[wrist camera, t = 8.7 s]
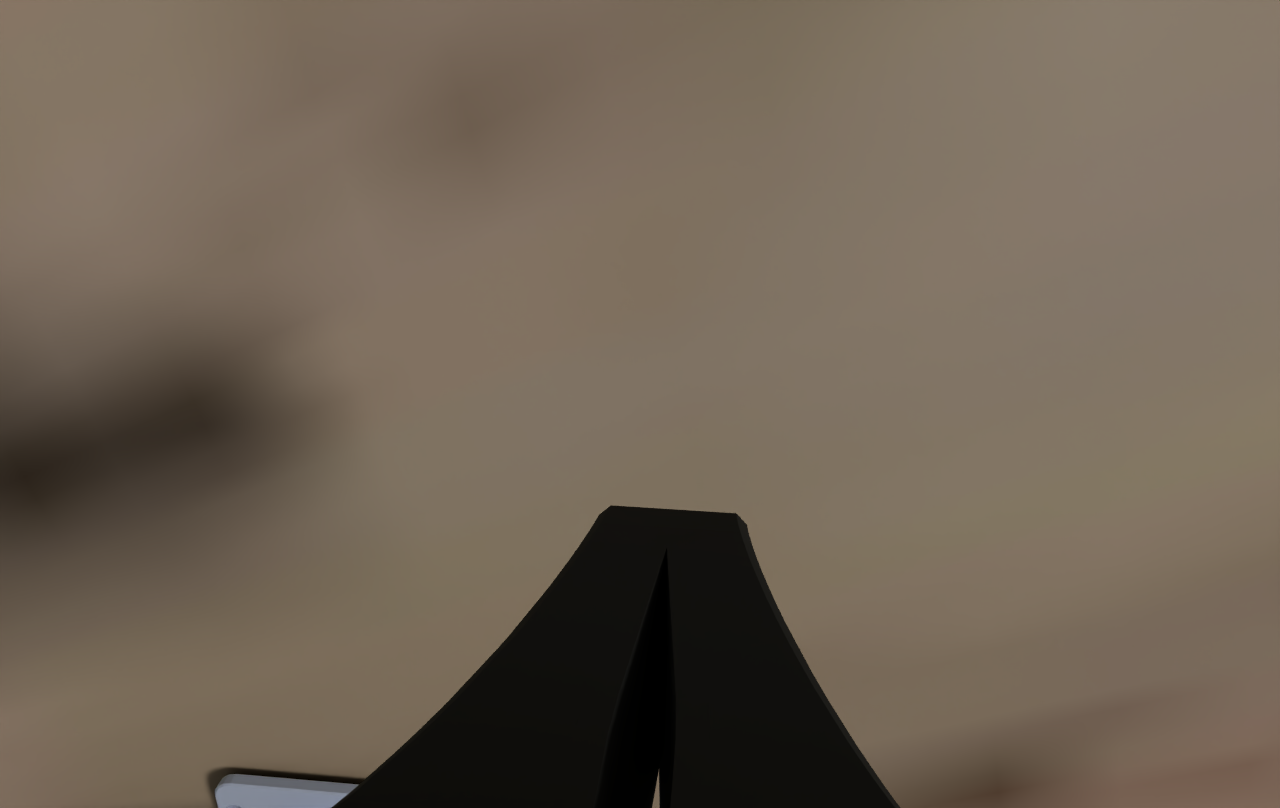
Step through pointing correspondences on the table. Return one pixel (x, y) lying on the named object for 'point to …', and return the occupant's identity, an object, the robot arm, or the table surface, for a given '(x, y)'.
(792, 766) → the robot arm
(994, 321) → the table surface
